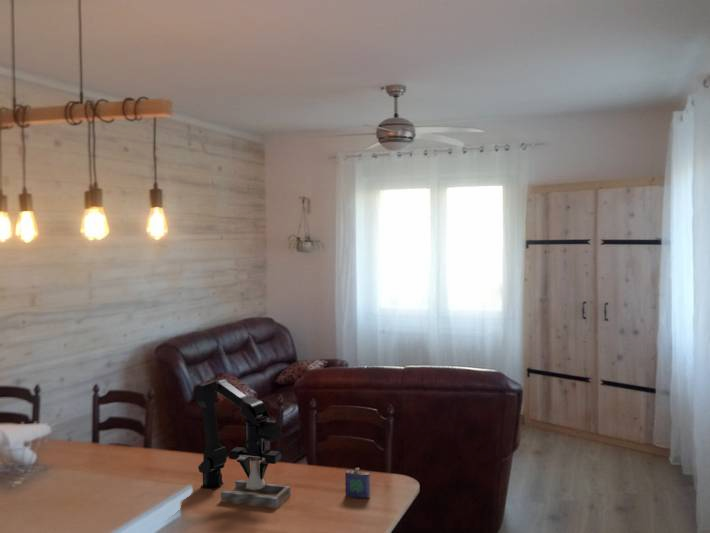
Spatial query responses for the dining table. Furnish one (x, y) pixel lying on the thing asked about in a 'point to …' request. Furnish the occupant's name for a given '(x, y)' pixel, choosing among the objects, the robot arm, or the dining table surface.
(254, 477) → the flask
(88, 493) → the dining table surface
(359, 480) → the flask
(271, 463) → the robot arm
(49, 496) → the dining table surface
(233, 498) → the grey rectangular tray
